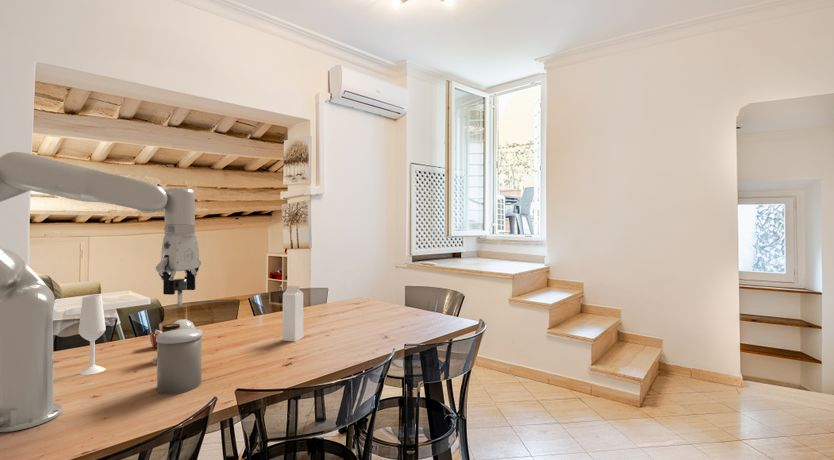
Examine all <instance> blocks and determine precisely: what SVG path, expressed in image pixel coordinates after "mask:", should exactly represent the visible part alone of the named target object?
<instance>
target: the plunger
mask: <svg viewBox="0 0 834 460" xmlns="http://www.w3.org/2000/svg"><path fill="white" fill-rule="evenodd" d="M173 280H175V292H177V294H176V295H177V300H176V301H177V306H183V291H188V290H187V279H184V278H173Z"/></svg>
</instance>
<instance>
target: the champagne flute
mask: <svg viewBox="0 0 834 460" xmlns="http://www.w3.org/2000/svg"><path fill="white" fill-rule="evenodd" d="M79 318H80V319H79V324H78V325H79V326H78V335H80V336H81V338H83V339H84V340H86V341H89V366H87V367H86V368H84V369H82V370H81V371H79V372H78V375H80V376H89V375H90V376H91V375H95V374H99V373H102V372H104V371H105V370H106V368H105V367H102V366H101V365H96V364H95V363H96V360H95V359H96V356H95V355H96V354H95V353H96V351H95V350H96V349H95V347H96V345H95V344H96V343H95V342H96V340H98V339H99V338H100V337H101V336H102V335H104V333H105V332H106V320H105V311H104V303H103V295H102V294H89V295H88V294H87V295H84V296H83V295H82V299H81V308H80V317H79Z"/></svg>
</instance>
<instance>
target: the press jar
mask: <svg viewBox="0 0 834 460" xmlns="http://www.w3.org/2000/svg"><path fill="white" fill-rule="evenodd" d="M203 334H204V333H203V330H202V329H200V328H199V329H198V328H195V329H178V330H172V331H167V332H163V333H160V334H158V335H157V336H156V342H157V346H156V347H157V348H156V352H157V356H156V357H157V364H156V371H157V372H156V380H157V381H156V382H157V383H156V387H157V389H156V390H157V392H158V393H159V394H164V395H171V394H172V395H174V394H175V395H176V394H180V393H185V392H189V391H192V390H194V389H197V388H198V387H200V386H201V384H202V337H203Z"/></svg>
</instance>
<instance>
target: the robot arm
mask: <svg viewBox="0 0 834 460" xmlns="http://www.w3.org/2000/svg"><path fill="white" fill-rule="evenodd" d="M28 192H35V193H40V194H41V193H42V194H47V195H51V196H56V197H61V198H65V199H70V200H75V201H81V202H85V203H92V202H93V203H103V204H110V205H116V206H119V207H124V208H125V207H126V208H129V209H134V210H137V212H140V213H142V214H143V213H144V214H152V213H164V228H163V231H164V236H163V239H162V244H161V257H160V259H161V260H160V262H159V263H158V264H157V265H156V266H155V271H156V272H158V275H159V277H160V278H161V279H160V280H162V282H163V286H162V287H163V295H166V296H167V295H169V296H173V295H175V294H176V291H175V280H173V279H175V275H176V272H181V271H184V272H183V273H185V276H184V277H183V279H187V290H186V291H195V290H196V277H197V275H198V274H197V273H198V271H199V268H200V267H201V265H202V261H201V260H200V252H199V250H200V249H199V242H198V238H197V235H195V234H196V232H195V231H196V230H195V229H196V228H195V227H196V226H195V225H196V224H195V223H196V218H195V217H196V214H195V213H196V207H195V205H196V203H195V202H196V197H195V196H196V194H195V191H194V190H193V189H190V188H185V187H170V188H169V187H168V188H162V187H161V186H159V185H157V184H155V183H151V182H148V181H143V180H140V179H135V178H131V177H127V176H121V175H117V174H113V173H108V172H104V171H100V170H97V169H94V168H88V167H84V166H79V165H76V164H71V163H68V162H64V161H59V160H55V159H52V158H47V157H44V156H39V155H36V154H32V153H28V152H27V153H26V152H21V151H11V152H7V153H5V154H3V155H1V156H0V203H2V202H4V201H7V200H9V199H12V198H15V197H18V196H20V195H23V194H25V193H28ZM54 294H55V293H54V292H53V290H51V288H50V287H49V286H48V285H47V284H46V283H45V281H43V280H42V278H40V276H39V275H38V273H36V272H35V271H34V270H33V269H32V268H31V266H30V265H29V264H28V263H27V262H26V261H25V260H24V259H23V258H22V257H21V256H20V255H18V254H17V253H16V252H14V251H12V250H10V249H6V248H3V247H2V246H1V245H0V433H9V432H15V431H21V430H24V429H25V430H26V429H29V428H34V427H36V426H39V425H43V424H44V423H47V422H50V421H52V420H53V419H55V418H57V417H58V416H59V415H61V413H62V411H63V410H62V409H63V408H62V407H63V406H62V405H60V404H59V403H54V307H55V303H56V302H55V301H56V297H55V295H54Z"/></svg>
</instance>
